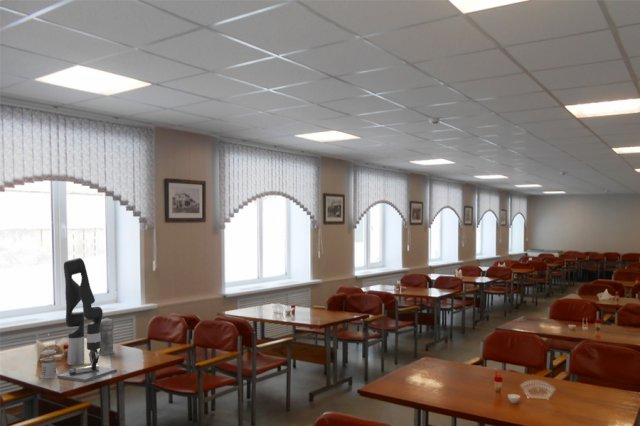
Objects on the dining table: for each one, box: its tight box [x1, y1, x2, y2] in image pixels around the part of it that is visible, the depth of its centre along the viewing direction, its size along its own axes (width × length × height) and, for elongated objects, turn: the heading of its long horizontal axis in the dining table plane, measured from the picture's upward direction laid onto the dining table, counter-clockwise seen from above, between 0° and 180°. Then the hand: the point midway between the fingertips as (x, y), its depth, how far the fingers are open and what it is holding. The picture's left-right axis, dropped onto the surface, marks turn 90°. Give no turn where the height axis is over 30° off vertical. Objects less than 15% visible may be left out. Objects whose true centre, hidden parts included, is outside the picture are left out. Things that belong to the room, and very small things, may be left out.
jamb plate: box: [56, 361, 118, 383], centre depth 300 cm, size 23×23×4 cm
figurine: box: [97, 317, 115, 356], centre depth 353 cm, size 10×14×25 cm
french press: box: [39, 332, 59, 379], centre depth 301 cm, size 10×12×25 cm
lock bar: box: [68, 364, 100, 374], centre depth 299 cm, size 16×4×2 cm, turn 124°
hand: (94, 370), depth 299 cm, fingers closed
